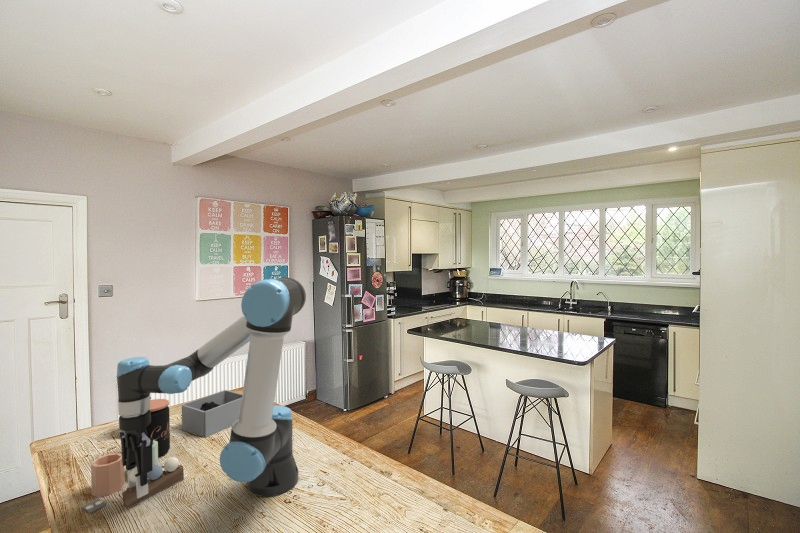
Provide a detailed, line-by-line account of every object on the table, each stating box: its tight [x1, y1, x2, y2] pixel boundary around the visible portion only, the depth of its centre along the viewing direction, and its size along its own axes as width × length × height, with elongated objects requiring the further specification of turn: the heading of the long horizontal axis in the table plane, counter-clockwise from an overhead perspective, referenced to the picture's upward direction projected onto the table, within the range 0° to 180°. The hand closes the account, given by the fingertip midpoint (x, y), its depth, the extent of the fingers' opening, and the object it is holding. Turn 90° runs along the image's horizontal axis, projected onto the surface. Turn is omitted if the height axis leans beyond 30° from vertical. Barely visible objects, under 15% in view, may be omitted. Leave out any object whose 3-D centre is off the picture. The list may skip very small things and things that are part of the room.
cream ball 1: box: [129, 468, 138, 483], centre depth 110 cm, size 4×4×4 cm
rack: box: [122, 464, 185, 509], centre depth 115 cm, size 2×16×5 cm, turn 151°
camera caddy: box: [181, 389, 243, 438], centre depth 162 cm, size 16×21×10 cm
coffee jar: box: [146, 398, 171, 459], centre depth 137 cm, size 11×11×18 cm
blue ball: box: [148, 464, 163, 480], centre depth 115 cm, size 4×4×4 cm
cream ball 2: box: [163, 456, 180, 472], centre depth 119 cm, size 4×4×4 cm
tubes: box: [81, 440, 159, 514], centre depth 118 cm, size 12×22×9 cm, turn 151°
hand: (138, 493), depth 110 cm, fingers closed on cream ball 1, 4 cm apart
